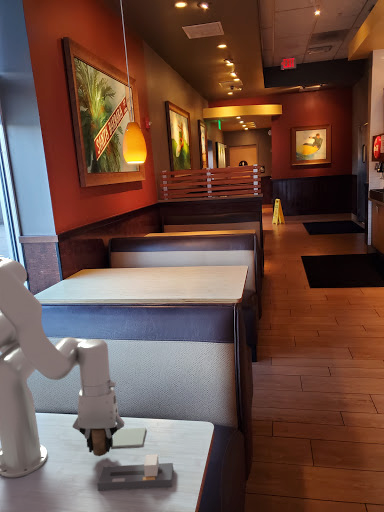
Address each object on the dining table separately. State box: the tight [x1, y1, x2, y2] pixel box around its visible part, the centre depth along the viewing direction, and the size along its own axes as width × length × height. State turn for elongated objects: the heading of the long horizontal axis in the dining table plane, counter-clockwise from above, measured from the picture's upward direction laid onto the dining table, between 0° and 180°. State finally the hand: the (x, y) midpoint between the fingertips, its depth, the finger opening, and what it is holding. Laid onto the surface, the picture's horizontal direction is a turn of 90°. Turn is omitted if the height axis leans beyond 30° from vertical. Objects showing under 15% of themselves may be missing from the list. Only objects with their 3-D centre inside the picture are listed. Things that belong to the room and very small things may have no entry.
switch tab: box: [144, 453, 160, 477], centre depth 101 cm, size 3×4×3 cm
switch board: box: [97, 462, 174, 492], centre depth 101 cm, size 18×6×2 cm, turn 89°
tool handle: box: [91, 428, 108, 457], centre depth 110 cm, size 4×4×9 cm
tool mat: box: [110, 427, 147, 449], centre depth 119 cm, size 9×8×1 cm
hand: (100, 448), depth 110 cm, fingers closed on tool handle, 4 cm apart
